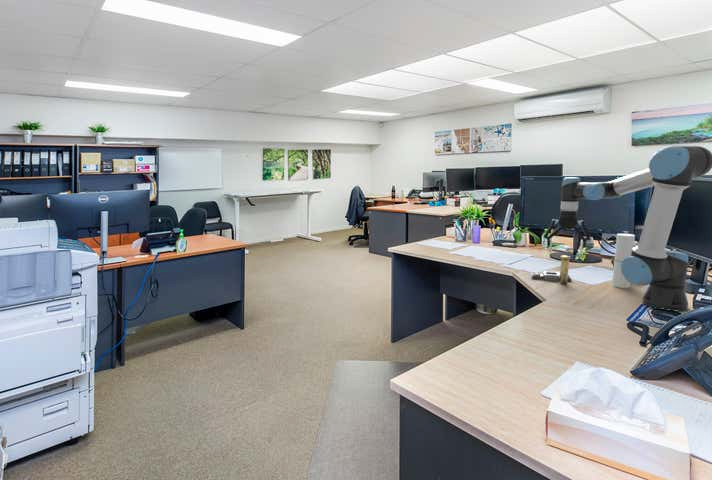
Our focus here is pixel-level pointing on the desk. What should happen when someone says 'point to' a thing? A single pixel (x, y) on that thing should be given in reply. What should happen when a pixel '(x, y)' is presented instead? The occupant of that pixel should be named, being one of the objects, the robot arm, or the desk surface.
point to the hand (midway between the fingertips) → (565, 253)
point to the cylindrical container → (622, 258)
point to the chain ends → (549, 276)
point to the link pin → (564, 269)
